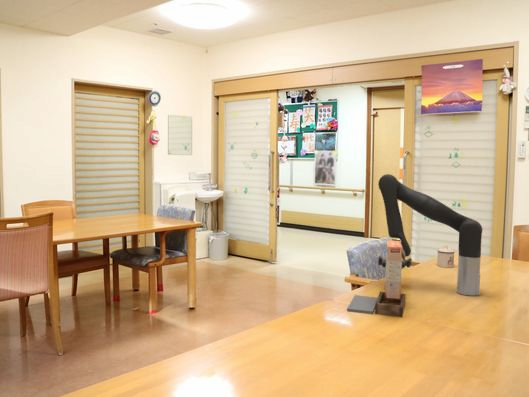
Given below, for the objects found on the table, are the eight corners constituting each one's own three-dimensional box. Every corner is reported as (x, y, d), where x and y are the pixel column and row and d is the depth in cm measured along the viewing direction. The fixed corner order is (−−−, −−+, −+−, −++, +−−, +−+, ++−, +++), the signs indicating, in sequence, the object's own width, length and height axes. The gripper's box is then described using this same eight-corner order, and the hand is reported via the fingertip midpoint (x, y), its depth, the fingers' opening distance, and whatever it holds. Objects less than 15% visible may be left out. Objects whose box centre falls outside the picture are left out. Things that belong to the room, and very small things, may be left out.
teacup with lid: (450, 268, 268) (451, 248, 267) (434, 266, 274) (435, 245, 273) (458, 265, 277) (459, 245, 276) (442, 262, 283) (443, 243, 282)
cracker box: (401, 300, 189) (403, 247, 187) (385, 298, 190) (386, 246, 188) (399, 290, 203) (400, 240, 201) (384, 289, 204) (385, 239, 202)
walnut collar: (405, 303, 204) (405, 294, 204) (402, 317, 187) (402, 306, 186) (379, 300, 208) (380, 291, 207) (374, 313, 190) (375, 303, 190)
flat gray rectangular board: (378, 299, 209) (378, 297, 208) (372, 314, 190) (372, 311, 190) (354, 297, 212) (354, 294, 212) (347, 311, 193) (347, 308, 193)
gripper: (379, 247, 214) (375, 255, 199) (413, 249, 209) (411, 257, 194) (379, 264, 215) (374, 273, 199) (413, 266, 210) (411, 276, 195)
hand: (392, 265), depth 197 cm, fingers closed on cracker box, 6 cm apart
